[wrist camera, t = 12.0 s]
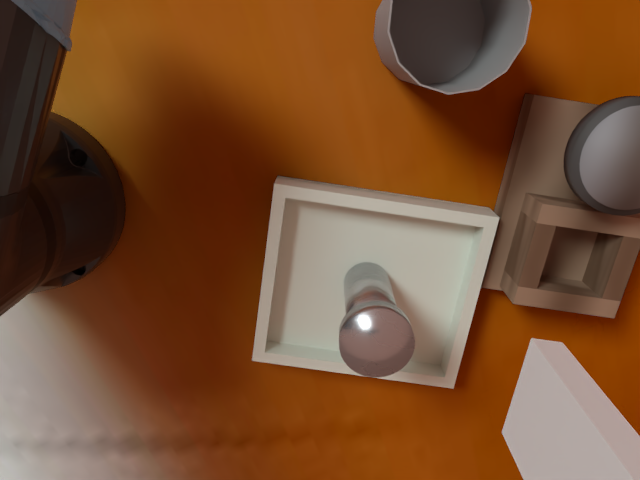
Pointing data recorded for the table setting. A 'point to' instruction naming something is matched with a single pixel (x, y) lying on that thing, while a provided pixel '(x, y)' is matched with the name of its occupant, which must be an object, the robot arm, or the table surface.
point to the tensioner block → (569, 206)
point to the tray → (377, 247)
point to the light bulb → (373, 324)
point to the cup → (450, 40)
